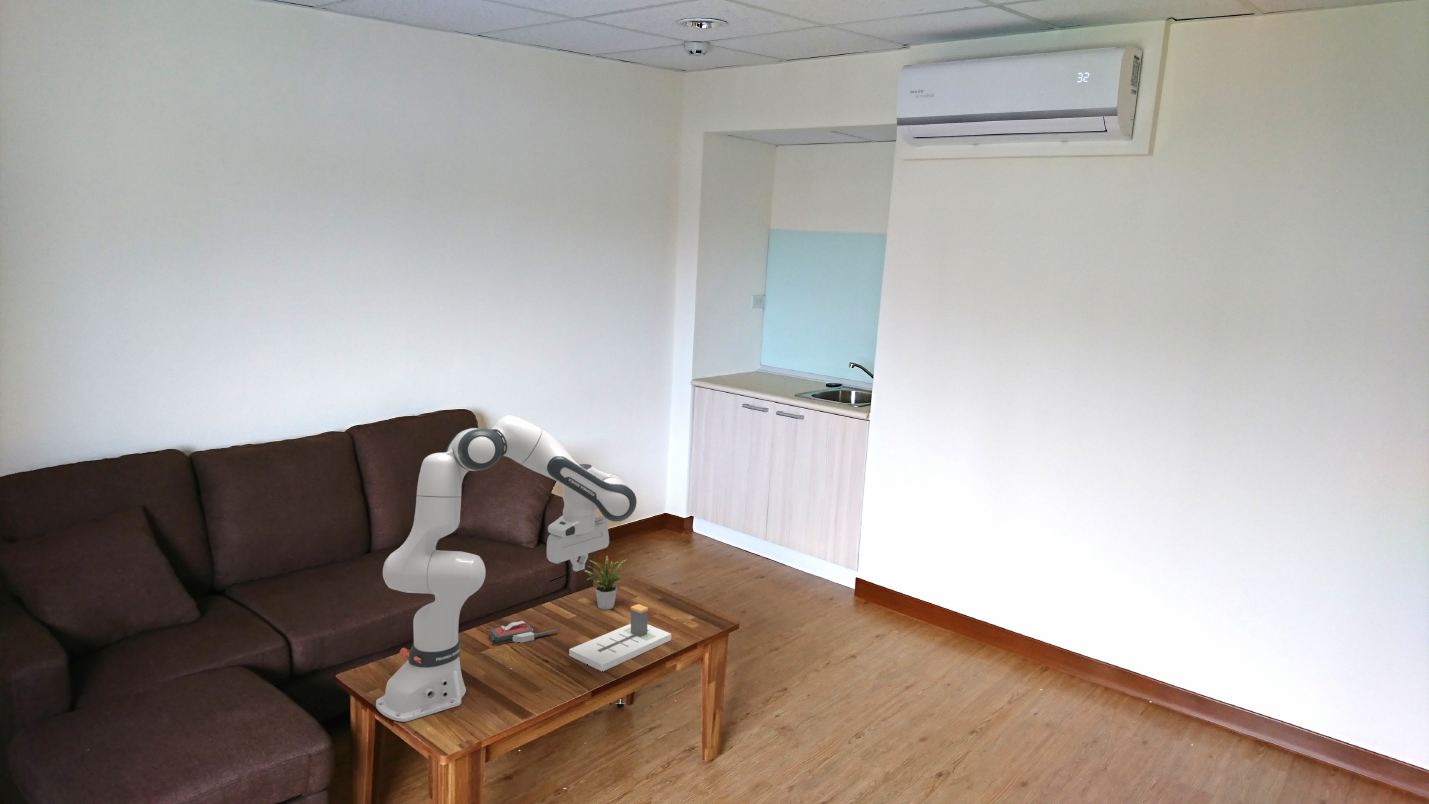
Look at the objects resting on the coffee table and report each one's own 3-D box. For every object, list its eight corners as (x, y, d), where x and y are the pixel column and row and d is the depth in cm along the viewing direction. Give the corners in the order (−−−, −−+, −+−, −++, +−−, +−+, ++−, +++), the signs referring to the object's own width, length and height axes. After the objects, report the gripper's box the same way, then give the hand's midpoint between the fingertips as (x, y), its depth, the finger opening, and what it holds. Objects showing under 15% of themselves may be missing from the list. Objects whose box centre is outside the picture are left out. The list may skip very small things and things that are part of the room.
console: (602, 671, 253) (602, 664, 252) (569, 655, 262) (569, 648, 261) (671, 640, 274) (671, 633, 273) (638, 626, 283) (638, 620, 282)
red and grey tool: (494, 650, 265) (559, 636, 275) (494, 635, 264) (559, 622, 274) (485, 638, 272) (548, 625, 282) (484, 624, 271) (548, 611, 282)
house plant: (614, 593, 308) (615, 547, 305) (638, 606, 298) (639, 559, 295) (578, 603, 299) (578, 555, 296) (601, 617, 289) (601, 568, 286)
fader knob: (640, 636, 270) (640, 610, 269) (630, 632, 273) (630, 606, 271) (647, 633, 273) (648, 607, 271) (637, 629, 275) (638, 603, 274)
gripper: (599, 512, 262) (598, 557, 264) (542, 527, 246) (543, 576, 249) (614, 516, 258) (613, 563, 260) (558, 533, 242) (558, 582, 245)
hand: (578, 569), depth 254 cm, fingers closed
